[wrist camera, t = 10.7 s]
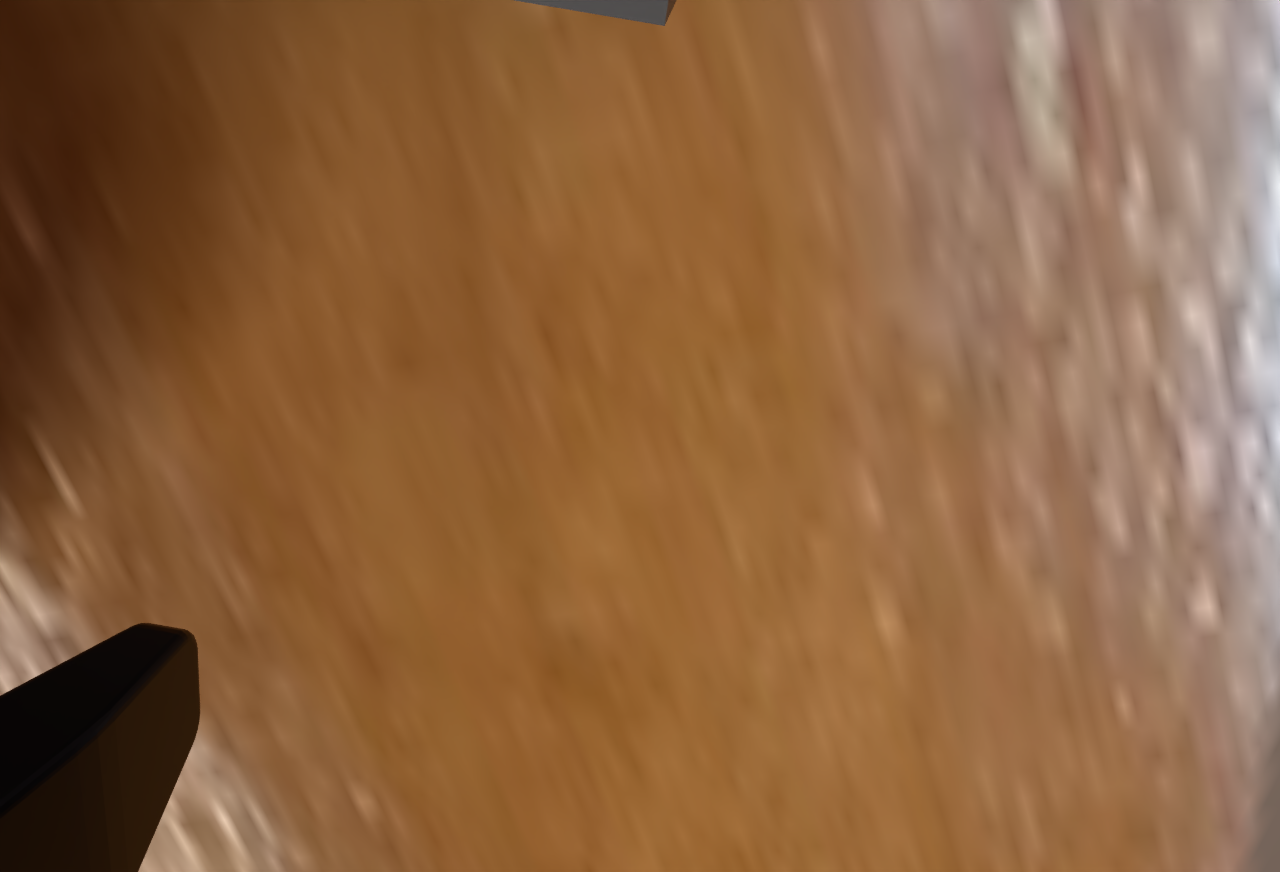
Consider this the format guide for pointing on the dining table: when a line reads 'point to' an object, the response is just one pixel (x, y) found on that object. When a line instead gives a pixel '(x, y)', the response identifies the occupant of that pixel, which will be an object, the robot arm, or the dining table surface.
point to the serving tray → (617, 8)
